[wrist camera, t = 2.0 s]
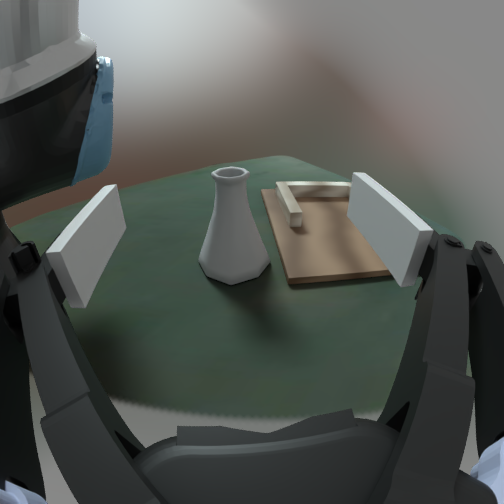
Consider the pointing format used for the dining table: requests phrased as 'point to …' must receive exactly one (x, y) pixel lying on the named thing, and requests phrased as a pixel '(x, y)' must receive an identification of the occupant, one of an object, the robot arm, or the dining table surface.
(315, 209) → the nook board
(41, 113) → the robot arm
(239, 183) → the flask
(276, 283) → the dining table surface
